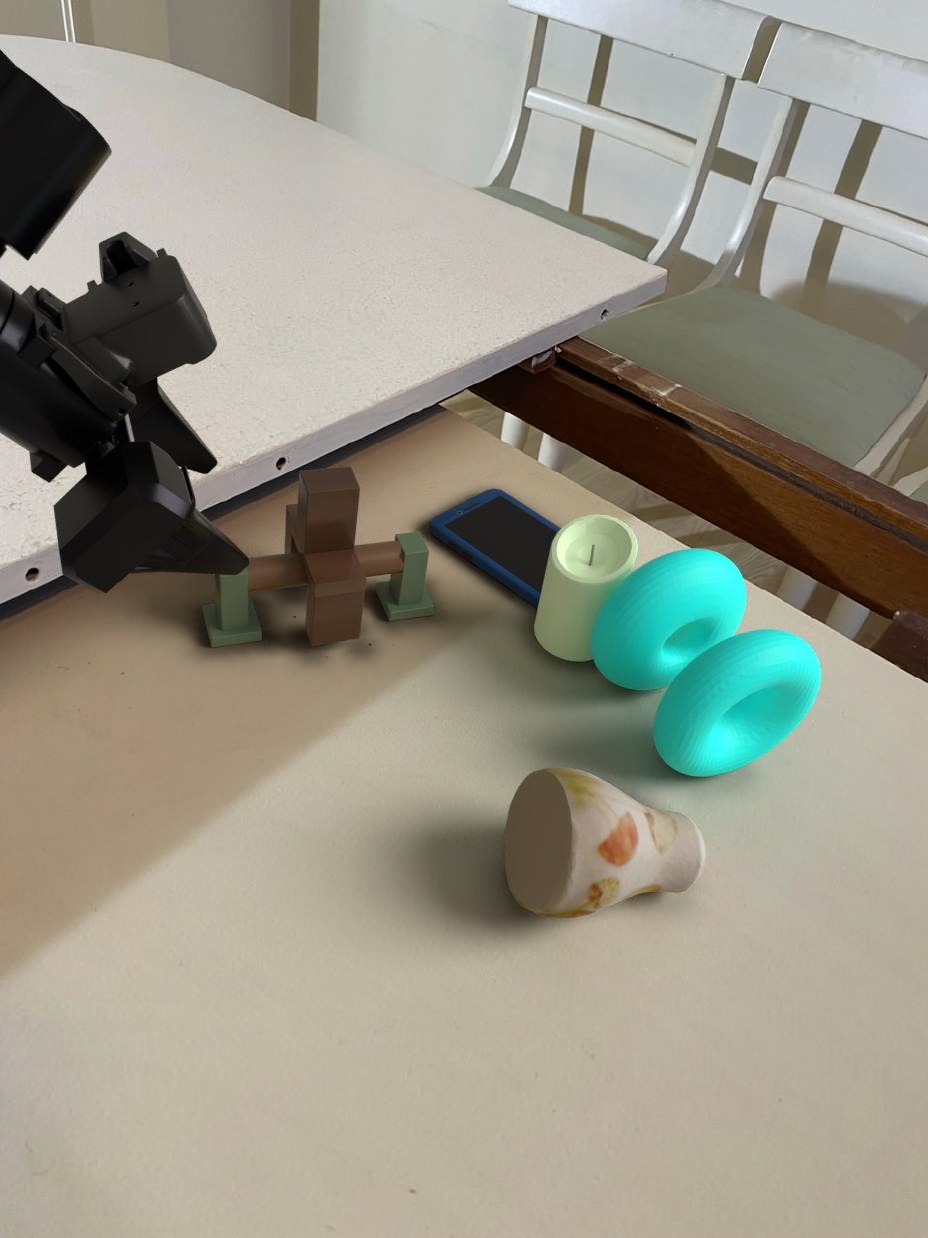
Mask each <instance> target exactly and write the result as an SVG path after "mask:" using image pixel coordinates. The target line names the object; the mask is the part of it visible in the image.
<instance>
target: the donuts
mask: <svg viewBox="0 0 928 1238" xmlns="http://www.w3.org/2000/svg"><path fill="white" fill-rule="evenodd" d="M746 606H747V587H746V583H745V579H744V577H743V575H742V573H741V571H740V569H739V567H738V566H737V565H736V564H735V563H734V562H733V561H732V560H731V559H729V557H727V556H725V555H724V554H722V553H720V552H718V551H714V550H711V549H706V548H685V549H680V550H674V551H670V552H667V553H665V554H661V555H659V556H657V557H655V558H653V559H651V560H649V561H647V562H646V563H643V564H642V565H641V566H639V567H638V568H636V569H635V570H633V571H632V573H631V574H630V575H629V576H627V577H626V578H625V579H624V580H623V581H622V582H621V583H620V584H619V585H618V586H617V587H616V588H615V589H614V590H613V591H612V592H611V594H610V595H609V596H608V598H607V599H606V600H605V602H604V604H603V605H602V607H601V608H600V610H599V612H598V615H597V617H596V619H595V622H594V625H593V628H592V633H591V652H592V656H593V659H592V660H593V663H594V664H595V666H596V668H597V669H598V671H599V672H600V674H601V675H603V677H604V678H606V679H607V680H608V681H609V682H611V683H613V684H615V685H617V686H619V687H620V688H624V689H629V690H634V691H650V690H651V691H652V690H659V689H662V688H666V687H667V688H666V689H665V691H664V693H663V695H662V696H661V699H660V700H659V703H658V705H657V708H656V710H655V714H654V719H653V728H652V731H653V740H654V741H653V742H654V744H655V745H654V746H655V748H656V750H657V752H658V755H659V756H660V757H661V759H662V760H663V762H665V763H666V765H668V767H670V768H671V769H673V770H675V771H676V772H679V773H681V774H683V775H686V776H691V777H705V778H706V777H715V776H720V775H723V774H727V773H730V772H733V771H735V770H738V769H740V768H743V767H745V766H747V765H749V764H751V763H753V762H755V761H757V760H758V759H760V758H761V757H763V756H765V755H766V754H768V753H769V752H770V751H772V750H774V749H775V748H776V747H777V746H778V745H780V744H781V743H783V741H784V740H785V739H787V737H789V735H790V734H792V733H793V732H794V731H795V729H797V727H798V726H799V725H800V724H801V723H802V721H804V719H805V718H806V716H807V714H808V713H809V712H810V710H811V709H812V707H813V705H814V703H815V702H816V699H817V697H818V694H819V691H820V687H821V682H822V681H821V680H822V670H821V664H820V663H821V662H820V659H819V658H818V656H817V653H816V652H815V650H814V648H812V646H811V645H810V644H809V643H808V642H807V641H806V640H805V639H803V638H802V637H800V636H798V635H797V634H794V633H792V632H789V631H786V630H783V629H782V630H781V629H773V628H763V629H761V628H760V629H754V630H748V631H745V632H741V633H738V634H736V633H737V631H738V629H739V628H740V625H741V622H742V621H743V618H744V614H745V612H746V611H745V610H746Z"/></svg>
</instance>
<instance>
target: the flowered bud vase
mask: <svg viewBox="0 0 928 1238" xmlns="http://www.w3.org/2000/svg"><path fill="white" fill-rule="evenodd" d="M511 799H512V800H511V802H510V805H509V807H508V812H507V817H506V823H505V828H504V834H503V835H504V837H503V853H504V868H505V869H504V870H505V877H506V882H507V885H508V889H509V890H510V893H511V895H512V897H513V898H514V900H516V904H518V905H519V906H520V907H522V908H524V909H525V910H528V911H530V912H533V913H534V914H537V915H540V916H543V917H548V918H553V919H574V918H579V917H584V916H588V915H592V914H595V913H597V912H599V911H602V910H604V909H607V908H609V907H612V906H613V905H615V904H618V903H620V902H623V901H624V900H627V899H630V898H632V897H634V896H637V895H640V894H644V893H654V892H656V893H675V894H678V893H679V894H680V893H683V892H686V891H688V890H689V889H690V888H691V887H693V885H694V883H695V882H696V881H698V879H699V878H700V877H701V875H702V873H703V871H704V868H705V865H706V860H707V851H706V843H705V839H704V837H703V835H702V832H701V830H700V829H699V828H698V827H697V825H696V823H695V821H694V820H692V819H691V818H690V817H689V816H688V815H686V814H684V813H682V812H677V811H670V810H669V811H668V810H661V809H656V808H652V807H649V806H648V805H647V806H646V805H644V804H643V803H641V802H638V800H635V798H633V797H631V796H630V795H628V794H626V793H625V792H623V791H622V790H620V789H618V788H617V787H615V786H614V785H613V784H610V783H609V782H607V781H606V780H604V779H602V778H600V777H599V776H596V775H595V774H593V773H589V772H588V771H585V770H581V769H578V768H573V767H563V766H561V767H545V768H540V769H538V770H534V771H532V772H530V773H529V774H528V775H526V776H525V777H524V778H523V780H522V781H521V782H520V784H519V785H518V787H517V788H516V791H515V793H514V795H513V797H512V798H511Z"/></svg>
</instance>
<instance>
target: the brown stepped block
mask: <svg viewBox="0 0 928 1238" xmlns="http://www.w3.org/2000/svg"><path fill="white" fill-rule="evenodd" d="M297 489H298V491H297V503H289V504H286V505H285V527H284V529H285V530H284V531H285V532H284V554H286V553H294V552H298V553H299V556H300V558H301V561H302V564H303V567H304V570H305V572H306V575H307V578H308V585H307V590H306V604H305V605H306V606H305V623H304V629H305V631H306V634H307V637H308V640H309V643H310V645H311V646H318V645H323V644H324V645H326V644H333V643H339V642H345V641H352V640H358V639H360V636H361V628H362V620H363V619H362V618H363V609H364V603H365V595H366V594H365V592H366V586H367V578H368V577H366V576H365V573H364V571H363V569H362V566H361V564H360V561H359V559H358V556H357V554H356V551H355V549H354V545H356V536H357V535H356V533H357V524H358V515H359V506H360V505H359V504H360V503H359V502H360V495H361V494H360V493H361V486H360V484H359V481H358V479H357V478H356V474H355V473H354V471H353V468H352V466H340V467H330V468H328V467H327V468H318V469H308V470H307V469H305V470H299V472H298V488H297Z"/></svg>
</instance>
